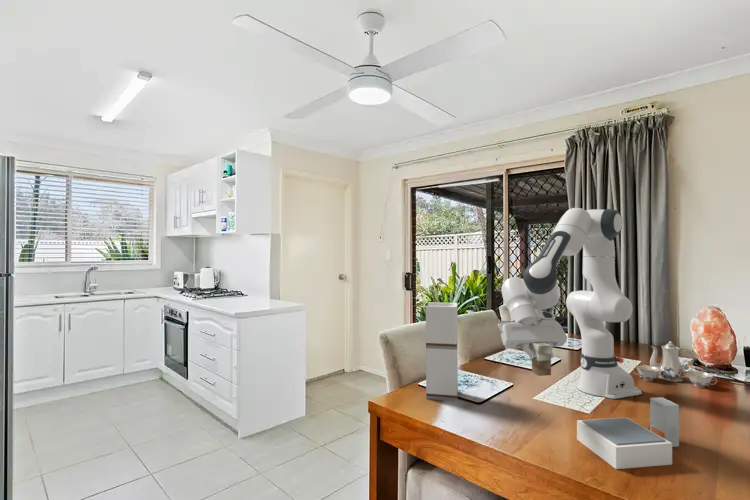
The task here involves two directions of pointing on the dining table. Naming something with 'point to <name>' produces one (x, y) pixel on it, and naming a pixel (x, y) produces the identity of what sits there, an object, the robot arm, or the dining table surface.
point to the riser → (624, 443)
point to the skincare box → (665, 419)
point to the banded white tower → (441, 351)
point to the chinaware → (672, 368)
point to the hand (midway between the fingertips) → (542, 358)
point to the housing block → (541, 359)
